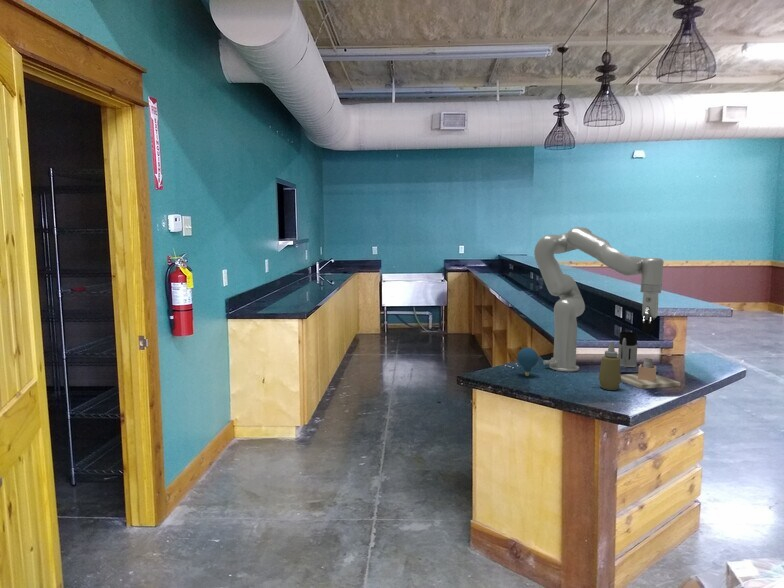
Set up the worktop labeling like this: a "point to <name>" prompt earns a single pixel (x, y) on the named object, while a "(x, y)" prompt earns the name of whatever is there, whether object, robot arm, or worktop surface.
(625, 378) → the base
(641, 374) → the collar
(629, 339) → the glass holder
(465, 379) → the worktop surface
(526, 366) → the light bulb
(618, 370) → the squeeze bottle
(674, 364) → the worktop surface
